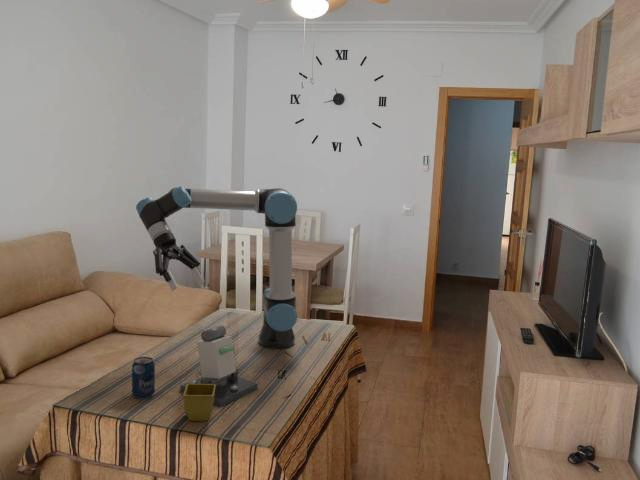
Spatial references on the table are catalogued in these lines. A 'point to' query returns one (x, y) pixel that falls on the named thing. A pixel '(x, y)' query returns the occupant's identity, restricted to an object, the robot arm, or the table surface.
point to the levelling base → (226, 388)
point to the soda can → (143, 377)
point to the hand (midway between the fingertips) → (188, 286)
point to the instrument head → (216, 354)
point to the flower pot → (199, 401)
